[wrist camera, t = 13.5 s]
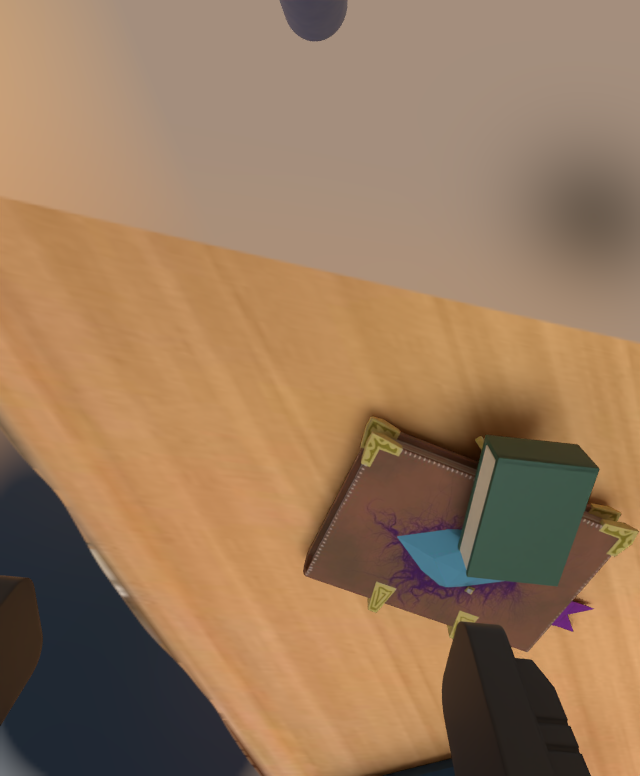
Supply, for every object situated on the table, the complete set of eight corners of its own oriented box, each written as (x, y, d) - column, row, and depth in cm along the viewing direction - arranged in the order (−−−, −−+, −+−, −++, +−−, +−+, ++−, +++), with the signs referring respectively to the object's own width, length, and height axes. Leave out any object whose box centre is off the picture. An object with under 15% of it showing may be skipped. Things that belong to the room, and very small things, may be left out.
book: (554, 638, 46) (576, 691, 42) (299, 549, 44) (293, 595, 39) (672, 505, 40) (713, 551, 35) (379, 390, 37) (383, 424, 32)
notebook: (485, 434, 33) (498, 457, 30) (578, 444, 33) (599, 468, 30) (457, 546, 36) (466, 577, 34) (541, 555, 36) (557, 586, 34)
